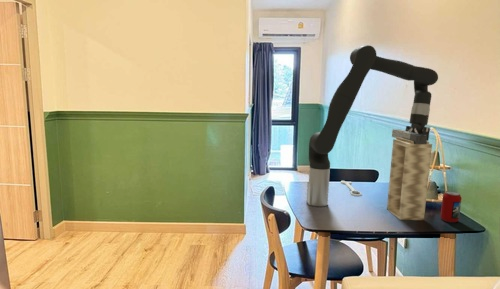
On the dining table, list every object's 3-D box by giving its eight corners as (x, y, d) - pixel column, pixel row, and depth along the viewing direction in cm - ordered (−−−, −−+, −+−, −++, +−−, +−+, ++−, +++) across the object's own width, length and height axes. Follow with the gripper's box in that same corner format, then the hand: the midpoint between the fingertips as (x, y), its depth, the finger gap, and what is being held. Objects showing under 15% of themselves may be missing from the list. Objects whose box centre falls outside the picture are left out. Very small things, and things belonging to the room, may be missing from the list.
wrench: (349, 183, 206) (339, 183, 206) (350, 180, 205) (339, 179, 205) (363, 197, 178) (351, 196, 178) (363, 193, 177) (351, 192, 178)
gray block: (415, 144, 141) (416, 135, 140) (390, 136, 162) (391, 129, 162) (426, 144, 141) (427, 135, 140) (400, 136, 163) (401, 129, 162)
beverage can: (458, 224, 143) (461, 196, 141) (439, 221, 146) (442, 193, 144) (458, 219, 148) (462, 192, 146) (440, 216, 152) (443, 189, 150)
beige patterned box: (400, 219, 146) (408, 141, 141) (386, 209, 159) (393, 136, 154) (423, 220, 147) (432, 141, 142) (408, 209, 159) (415, 137, 154)
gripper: (403, 112, 167) (397, 146, 168) (422, 112, 153) (416, 149, 154) (417, 115, 168) (411, 148, 169) (437, 115, 155) (431, 151, 155)
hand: (413, 149), depth 162 cm, fingers open, 8 cm apart
